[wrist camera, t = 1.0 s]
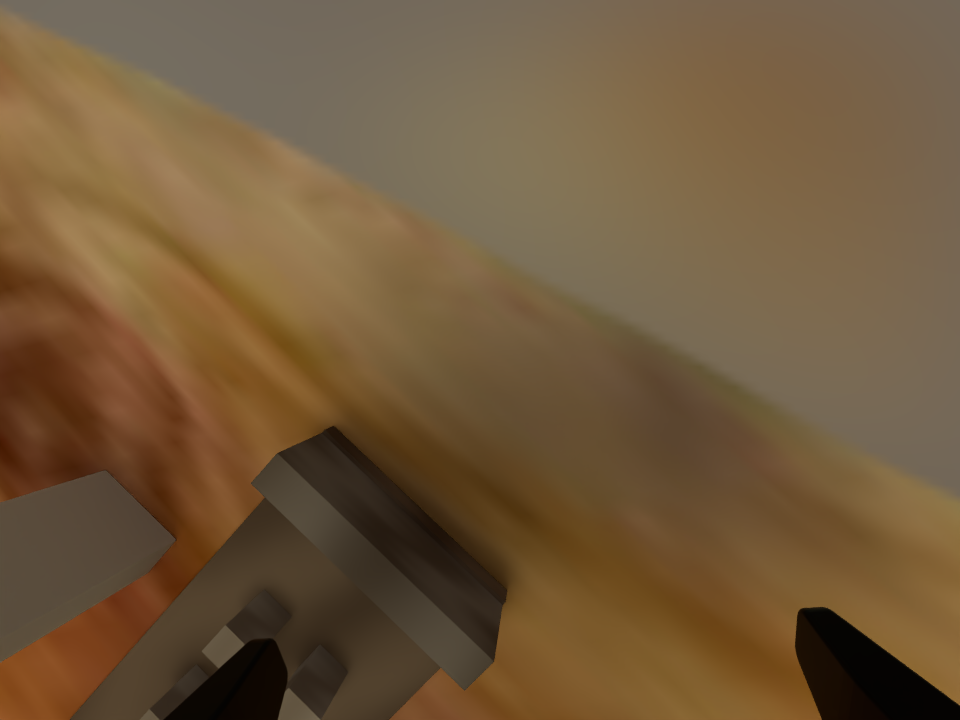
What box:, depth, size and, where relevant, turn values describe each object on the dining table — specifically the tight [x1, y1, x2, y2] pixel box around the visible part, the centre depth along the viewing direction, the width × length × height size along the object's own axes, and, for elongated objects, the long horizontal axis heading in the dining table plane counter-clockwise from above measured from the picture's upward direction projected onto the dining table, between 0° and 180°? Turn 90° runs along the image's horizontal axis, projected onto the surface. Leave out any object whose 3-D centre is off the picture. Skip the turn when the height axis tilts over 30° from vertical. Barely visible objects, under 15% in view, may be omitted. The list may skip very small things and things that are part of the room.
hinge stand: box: [70, 426, 507, 720], centre depth 23 cm, size 11×22×5 cm, turn 138°
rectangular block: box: [0, 470, 176, 662], centre depth 21 cm, size 5×3×11 cm, turn 48°
